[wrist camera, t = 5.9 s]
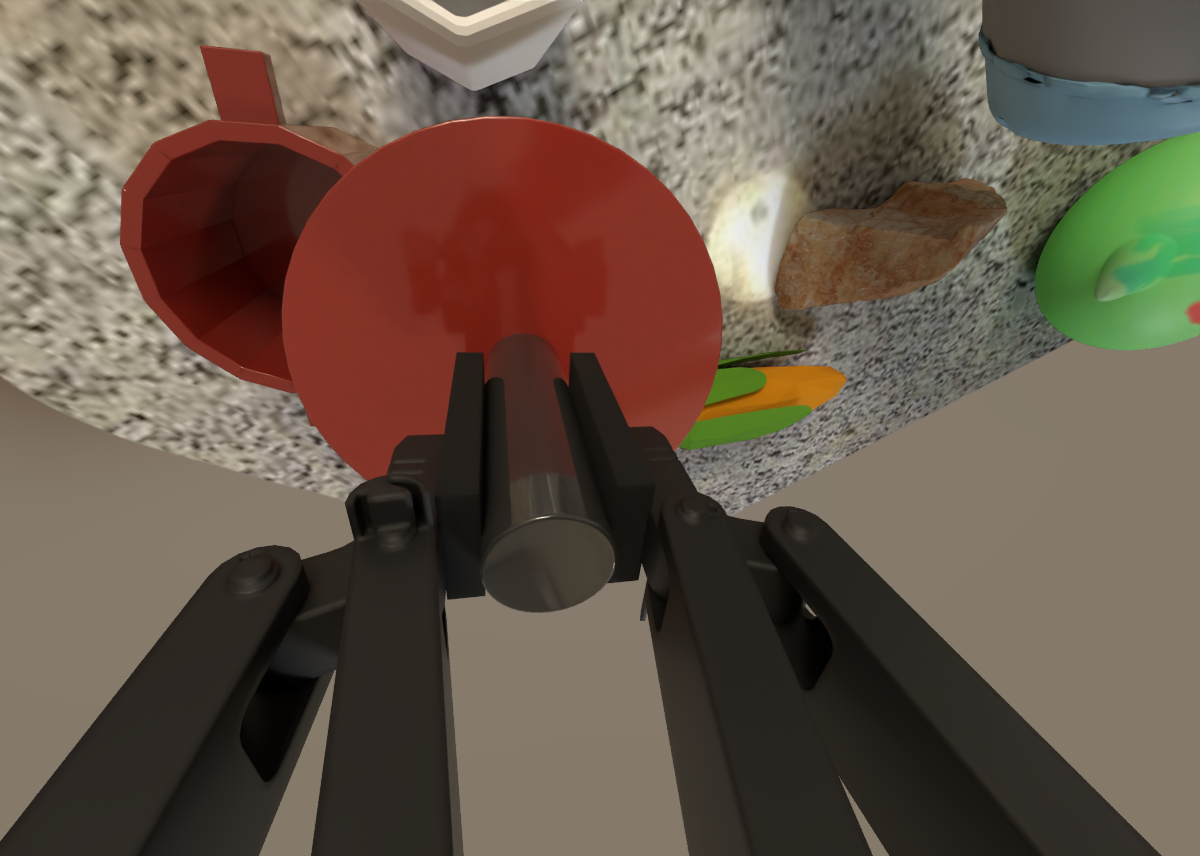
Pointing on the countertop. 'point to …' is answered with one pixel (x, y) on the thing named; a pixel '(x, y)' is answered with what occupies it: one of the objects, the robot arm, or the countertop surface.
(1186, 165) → the toy bird
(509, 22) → the cup
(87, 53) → the countertop surface
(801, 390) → the corn
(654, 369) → the lid
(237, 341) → the pot
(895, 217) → the stone
